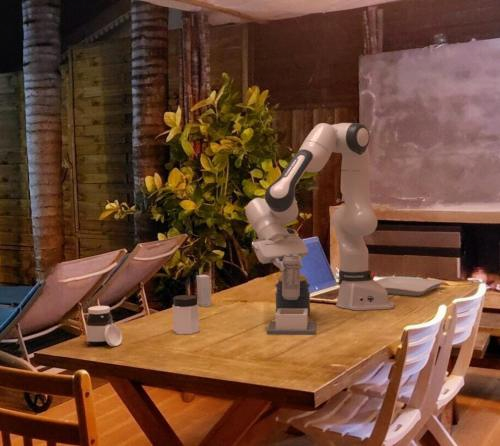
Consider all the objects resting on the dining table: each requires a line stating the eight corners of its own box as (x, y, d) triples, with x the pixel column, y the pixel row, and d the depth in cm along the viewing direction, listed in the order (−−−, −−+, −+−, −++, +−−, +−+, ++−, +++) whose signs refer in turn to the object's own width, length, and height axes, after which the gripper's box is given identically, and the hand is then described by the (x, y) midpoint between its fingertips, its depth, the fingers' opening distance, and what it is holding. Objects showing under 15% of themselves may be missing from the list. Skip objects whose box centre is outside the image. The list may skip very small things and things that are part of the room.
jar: (202, 332, 241) (201, 298, 240) (179, 335, 238) (178, 300, 237) (192, 327, 249) (191, 293, 248) (170, 330, 246) (169, 296, 245)
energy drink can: (300, 296, 245) (301, 253, 243) (298, 300, 239) (299, 256, 237) (282, 295, 246) (283, 252, 244) (280, 299, 240) (281, 255, 238)
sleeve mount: (316, 324, 249) (316, 307, 248) (315, 334, 235) (314, 316, 235) (270, 324, 251) (270, 307, 250) (266, 334, 237) (266, 316, 237)
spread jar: (92, 339, 236) (91, 304, 235) (126, 339, 235) (125, 304, 234) (83, 349, 224) (81, 312, 223) (118, 348, 223) (117, 312, 222)
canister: (317, 315, 264) (317, 268, 263) (295, 321, 255) (294, 272, 253) (290, 310, 273) (290, 265, 271) (268, 316, 264) (267, 269, 262)
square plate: (387, 283, 329) (387, 275, 328) (445, 289, 313) (445, 280, 312) (361, 293, 307) (361, 284, 307) (421, 299, 291) (421, 290, 291)
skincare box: (211, 306, 285) (211, 276, 284) (201, 307, 284) (200, 277, 283) (207, 303, 291) (206, 274, 290) (196, 304, 289) (196, 274, 288)
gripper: (253, 234, 239) (272, 266, 232) (299, 229, 252) (318, 259, 245) (245, 246, 243) (264, 278, 236) (290, 241, 256) (309, 271, 249)
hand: (292, 268), depth 241 cm, fingers closed on energy drink can, 6 cm apart
